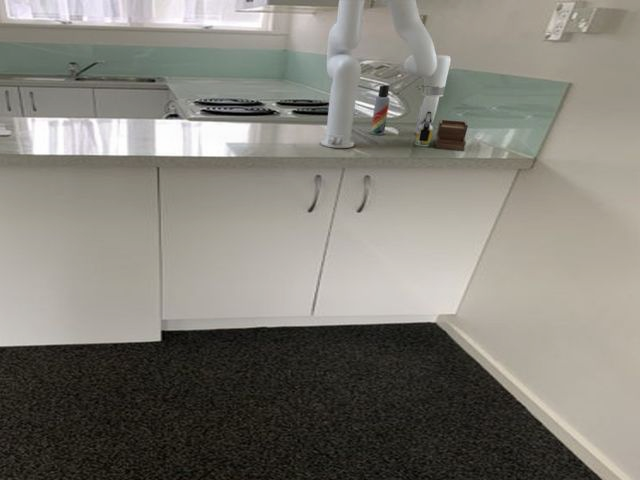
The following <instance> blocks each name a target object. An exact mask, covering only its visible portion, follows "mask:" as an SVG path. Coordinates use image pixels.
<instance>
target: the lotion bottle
mask: <svg viewBox="0 0 640 480" xmlns="http://www.w3.org/2000/svg"><path fill="white" fill-rule="evenodd" d="M389 92H390V85H380V86H379V89H378V96H375V101H374V107H373V115H372V120H371V121H372V123H371V128H370V134H371V135H375V136H383V135H385V129H386V123H387V117H388V113H389V112H388V111H389V105H390V97H389Z"/></svg>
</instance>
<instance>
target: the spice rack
mask: <svg viewBox="0 0 640 480" xmlns="http://www.w3.org/2000/svg"><path fill="white" fill-rule="evenodd" d="M468 128H469V124H468V121H464V120H463V121H460V120H451V119H450V120H448V119H439V123H438V127H437V131H436V135H435V141H434V143H435V149H440V150H451V151H458V152H459V151H461V152H464V151H465V147H466V142H467V141H466V135H467V132H468Z"/></svg>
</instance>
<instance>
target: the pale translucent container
mask: <svg viewBox="0 0 640 480" xmlns="http://www.w3.org/2000/svg"><path fill="white" fill-rule="evenodd" d="M421 110H422V105H420V107H419V112H418V115H417V121H416V127H415V132H414V134H415V135H416V136H417V132H418V127H419V126H420V125H422V124H421V123H420V122H419V121H420V115H421Z"/></svg>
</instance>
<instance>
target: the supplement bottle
mask: <svg viewBox="0 0 640 480" xmlns="http://www.w3.org/2000/svg"><path fill="white" fill-rule="evenodd" d="M431 121H432V120H431ZM424 122H425V121H424ZM421 124H422V125H420V126H419V127H418V132H417V135H416V136H415V137H416V139H415V142H414V145H415V146H418V147H430V143H431V140H432V135H433V130H434V127H433V123H432V124H431V125H430V133H429V138H428V141H420V140H419V138H420V133H421V130H422V126H423V122H421Z"/></svg>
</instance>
